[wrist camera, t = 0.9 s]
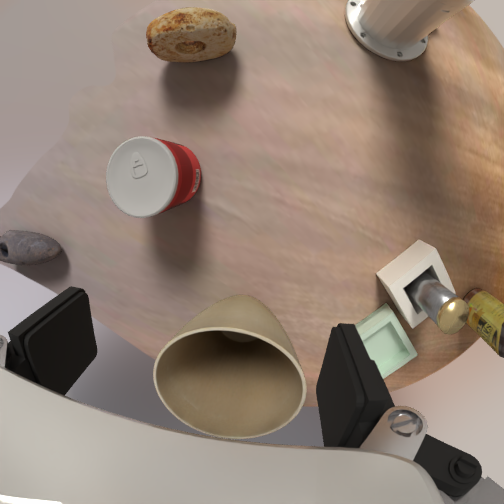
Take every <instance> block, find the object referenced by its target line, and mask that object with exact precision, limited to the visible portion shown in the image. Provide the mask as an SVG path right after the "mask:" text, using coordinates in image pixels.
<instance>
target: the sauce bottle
mask: <svg viewBox="0 0 504 504" xmlns="http://www.w3.org/2000/svg"><path fill="white" fill-rule="evenodd" d="M463 301H465V302H466V303H467V304H468V306H469V316H468V319H467V321H466V323H467V324H468V325H469V326H470V327H471V328H472V329H473V330H474V331H475V332H476V333H477V334H478V335H479V336H480V337H481V338H482V339H483V340H484V341H485V342H486V343H487V344H488V345H489V346H491V348H492V349H493V350H494V351H495V352H496V353H497V354H498V355H499V356H500V357H503V358H504V304H503V303H501V302H500V301H499V300H497V299H496V298H495V297H493V296H492V295H491V294H489V293H488V292H486V291H483V290H482V289H479V288H476V289H473V290H472V291H470V292H469V293H468V294H467V295H466V296H465V298H464V300H463Z"/></svg>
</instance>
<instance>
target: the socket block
mask: <svg viewBox="0 0 504 504" xmlns="http://www.w3.org/2000/svg"><path fill="white" fill-rule="evenodd" d="M424 271H425V272H427V273H428V274H429V275H431V276H432V277H433V278H435V279H436V280H437V281H438V282H440V283H441V284H442V285H444V286H445V287H446V288H448V289H449V290H450V291H451V292H453V293H454V294H456V292H455V290H454V287H453V285H452V283H451V280H450V278H449V276H448V273H447V271H446V269H445V267H444V264H443V262H442V260H441V258H440V256H439V254H438V252H437V249H436V248H434V247H432V246H431V245H429V244H427V243H425V242H423V241H421V240H417V241H416V242H415V243H414V244H413V245H411V246H410V247H409V248H408V249H406V250H405V251H404V252H403V253H401V254H400V255H399V256H398V257H396V258H395V259H394V260H393V261H391V262H390V263H389V264H388V265H386V266H385V267H384V268H382V269H381V270H380V271H378V272H377V273H376V274H377V276H378V278H379V279H380V281H381V282H382V284H383V286H384V287H385V289H386V291H387V292H388V294H389V295H390V297H391V299H392V300H393V302H394V304H395V306H396V307H397V309H398V311H399V312H400V314H401V315H402V316H403V317H404V319H405V320H406V321H407V322H408V324H409V325H410V326H411V327H412V329H413V328H414V327H416V326H417V325H418V324H419V323H421V322H422V321H423V320H424V319H426V318H427V317H428V315H427V314H426V313H425V312H424V311H423V310H422V309H421V308H420V306H419V305H418V304H417V303H416V302H415V301H414V300H413V299H412V298H411V297H410V296H408V297H407V295H406V293H405V291H404V289H403V288H404V287H405V286H407V285H408V284H409V283H410V282H412V281H413V280H414V279H415V278H417V277H418V276H419V275H420V274H421V273H423V272H424Z"/></svg>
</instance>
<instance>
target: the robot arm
mask: <svg viewBox="0 0 504 504" xmlns="http://www.w3.org/2000/svg"><path fill="white" fill-rule="evenodd" d="M473 1H474V0H348V2H347V4H346V7H345V18H346V22H347V25H348V27H349V29H350V31H351V32H352V34H353V35H354V36H355V37H356V39H357V40H358V41H359V42H360V43H361V44H362V45H363V46H365V47H366V48H367V49H369V50H370V51H372V52H373V53H375V54H377V55H379V56H381V57H383V58H386V59H389V60H394V61H409V60H412V59H415V58H417V57H418V56H419V55H421V54H422V53H423V52H424V51H425V49H426V47H427V43H428V34H430V33H431V32H432V31H433V30H435V29H436V28H437V27H439V26H440V25H441V24H443V23H444V22H445V21H447V20H448V19H450V18H451V17H452V16H454V15H455V14H456V13H458V12H459V11H461V10H462V9H463V8H465V7H466V6H468V5H469V4H471V3H472V2H473ZM361 36H362V37H361ZM8 334H9V337H10V340H11V341H10V342H9V343H8V342H7V339H6V338H5V337H4V336H2V335H0V504H504V489H503V488H502V487H500V486H499V485H498V484H497V483H495V482H494V481H493V480H492V479H490V478H489V477H487V478H486V479H484V478H482V477H481V475H482V469H481V465H480V463H479V461H478V460H477V459H476V458H475V457H473V456H472V455H470V454H468V453H465V452H463V451H461V450H459V449H457V448H455V447H452V446H450V445H448V444H446V443H444V442H442V441H440V440H437V439H436V438H434V437H431V436H429V435H427V434H426V432H427V427H428V425H427V421H426V419H425V418H424V416H423V415H422V414H421V413H420V412H419V411H417V410H415V409H413V408H410V407H407V406H396V407H395V405H394V403H393V401H392V398H391V396H390V394H389V391H388V389H387V387H386V385H385V382H384V380H383V378H382V376H381V373H380V371H379V369H378V367H377V365H376V363H375V361H374V360H371V359H370V357H369V355H368V352H367V350H366V348H365V346H364V344H363V341H362V339H361V337H360V335H359V333H358V331H357V329H356V326H355V325H354V324H342V323H339V324H338V325H337V327H333V328H332V330H331V334H330V338H329V342H328V346H327V349H326V353H325V357H324V361H323V364H322V368H321V371H320V375H319V378H318V382H317V386H316V394H317V401H318V407H319V414H320V420H321V427H322V434H323V442H324V447H316V446H296V445H279V444H267V443H256V442H247V441H238V440H231V439H223V438H217V437H210V436H205V435H199V434H194V433H188V432H183V431H178V430H174V429H169V428H165V427H161V426H156V425H153V424H149V423H145V422H141V421H138V420H134V419H131V418H127V417H124V416H120V415H117V414H114V413H111V412H107V411H105V410H102V409H98V408H96V407H93V406H90V405H88V404H85V403H82V402H79V401H77V400H74V399H71V398H69V397H66V396H65V394H66V393H67V392H68V390H69V389H70V388H71V387H72V385H73V384H74V383H75V382H76V380H77V379H78V378H79V377H80V376H81V374H82V373H83V372H84V371H85V369H86V368H87V367H88V366H89V364H90V363H91V362H92V361H93V360H94V358H95V357H96V355H97V345H96V341H95V336H94V330H93V324H92V318H91V311H90V305H89V298H88V295H87V293H85V290H84V289H81V288H76V287H69V288H68V289H66V290H65V291H63V292H62V293H60V294H59V295H58V296H56V297H55V298H53V299H52V300H51V301H49V302H48V303H46V304H45V305H44V306H42V307H41V308H39V309H38V310H37V311H35V312H34V313H33V314H31V315H30V316H29V317H27V318H26V319H25V320H23V321H22V322H21V323H19V324H18V325H17V326H16V327H14V328H13V329H12V330H10V331H9V332H8Z"/></svg>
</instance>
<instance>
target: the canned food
mask: <svg viewBox="0 0 504 504" xmlns="http://www.w3.org/2000/svg"><path fill="white" fill-rule="evenodd" d="M200 180H201V169H200V165H199V162H198V159H197V158H196V156H195V155H194V154H193V152H192V151H191V150H189V149H188V148H187V147H185V146H183V145H180V144H176V143H172V142H169V141H165V140H161V139H157V138H152V137H146V136H145V137H135V138H131V139H129V140H127V141H125V142H123V143H122V144H121V145H120V146H118V148H117V149H116V150H115V151H114V153H113V154H112V156H111V158H110V160H109V163H108V166H107V172H106V183H107V189H108V192H109V195H110V197H111V199H112V201H113V203H114V204H115V205H116V206H117V207H118V208H119V209H120V210H121V211H122V212H123V213H125V214H127V215H129V216H132V217H135V218H146V217H152V216H154V215H157V214H160V213H162V212H164V211H167V210H169V209H171V208H173V207H176V206H178V205H180V204H183V203H185V202H186V201H188V200H189V199H191V198H192V197H193V196H194V194H195V193H196V191H197V189H198V187H199V184H200Z"/></svg>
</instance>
